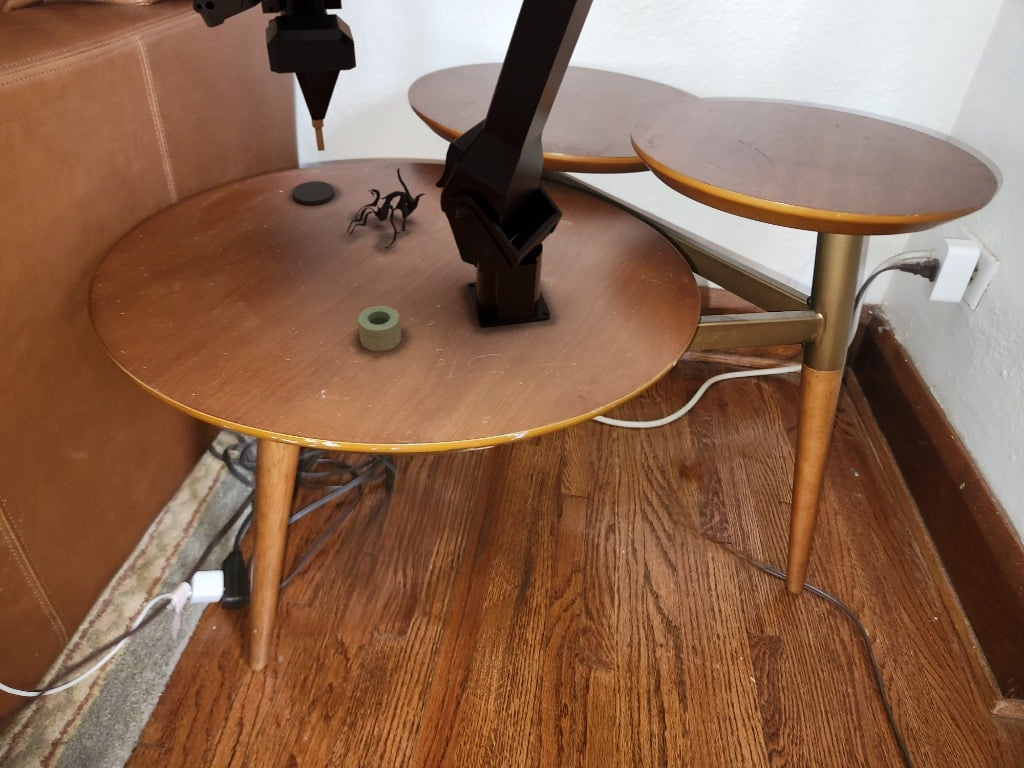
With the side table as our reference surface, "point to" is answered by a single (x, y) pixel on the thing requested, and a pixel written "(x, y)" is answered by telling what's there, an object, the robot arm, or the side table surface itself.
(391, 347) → the pale green thick ring
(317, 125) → the wooden stick
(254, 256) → the side table surface
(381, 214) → the creature
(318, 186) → the coaster
